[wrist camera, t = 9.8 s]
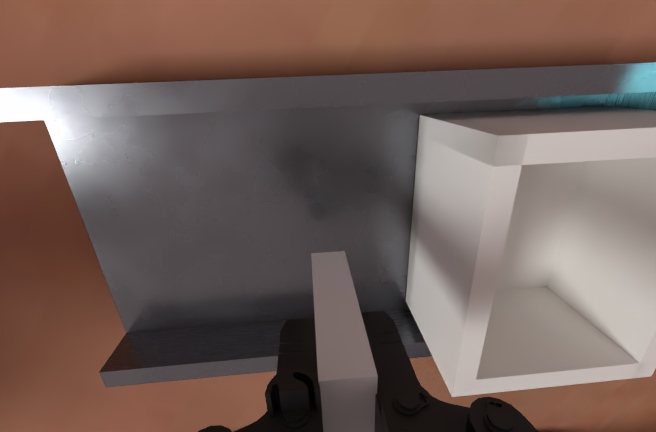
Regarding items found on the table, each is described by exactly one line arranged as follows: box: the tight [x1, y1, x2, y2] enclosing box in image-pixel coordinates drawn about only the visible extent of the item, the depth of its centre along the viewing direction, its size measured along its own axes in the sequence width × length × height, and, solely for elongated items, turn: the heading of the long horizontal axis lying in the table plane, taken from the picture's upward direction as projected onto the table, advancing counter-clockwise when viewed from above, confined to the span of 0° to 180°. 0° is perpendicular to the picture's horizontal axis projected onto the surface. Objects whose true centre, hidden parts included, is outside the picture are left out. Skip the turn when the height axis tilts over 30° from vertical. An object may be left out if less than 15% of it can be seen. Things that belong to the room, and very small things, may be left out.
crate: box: [406, 106, 656, 397], centre depth 16 cm, size 10×12×7 cm
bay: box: [0, 62, 656, 387], centre depth 17 cm, size 30×16×6 cm, turn 92°
